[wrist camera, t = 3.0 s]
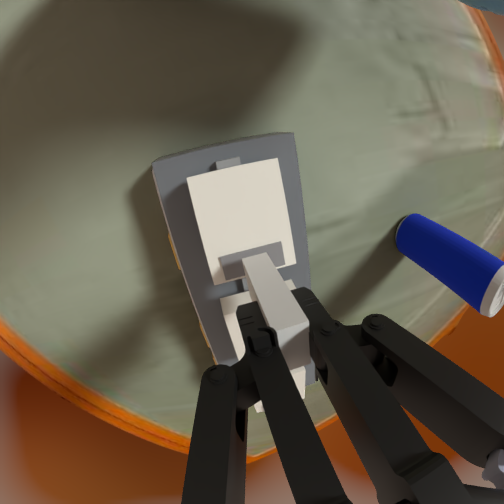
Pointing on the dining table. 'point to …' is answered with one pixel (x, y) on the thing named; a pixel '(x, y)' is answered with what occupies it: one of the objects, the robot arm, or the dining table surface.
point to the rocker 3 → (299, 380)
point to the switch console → (189, 239)
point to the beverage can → (454, 262)
